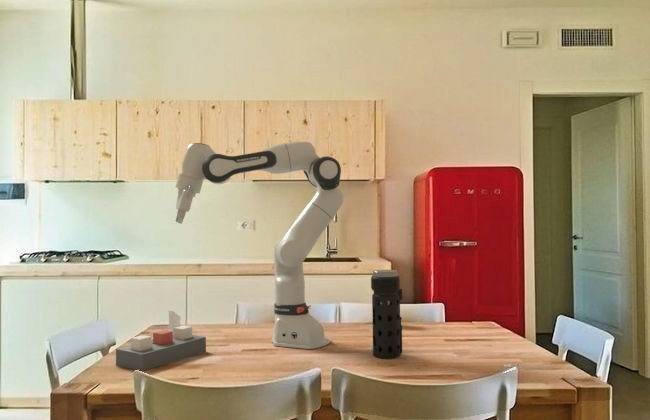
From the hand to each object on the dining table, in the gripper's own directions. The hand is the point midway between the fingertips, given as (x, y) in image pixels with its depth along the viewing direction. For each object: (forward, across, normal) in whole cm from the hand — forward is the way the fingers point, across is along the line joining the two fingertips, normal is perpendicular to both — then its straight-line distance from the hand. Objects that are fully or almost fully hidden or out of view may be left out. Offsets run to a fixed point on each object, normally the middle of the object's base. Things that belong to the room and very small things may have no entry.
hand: (178, 222), depth 179 cm
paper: (+17, -60, -100) cm, 118 cm away
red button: (+41, -15, -5) cm, 44 cm away
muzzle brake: (+25, -40, -74) cm, 87 cm away
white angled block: (+44, +18, -12) cm, 49 cm away
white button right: (+39, -9, -11) cm, 42 cm away
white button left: (+42, -20, +2) cm, 47 cm away
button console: (+44, -15, -6) cm, 47 cm away
